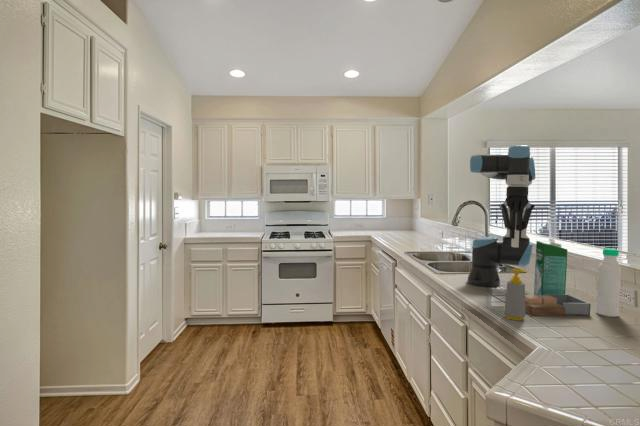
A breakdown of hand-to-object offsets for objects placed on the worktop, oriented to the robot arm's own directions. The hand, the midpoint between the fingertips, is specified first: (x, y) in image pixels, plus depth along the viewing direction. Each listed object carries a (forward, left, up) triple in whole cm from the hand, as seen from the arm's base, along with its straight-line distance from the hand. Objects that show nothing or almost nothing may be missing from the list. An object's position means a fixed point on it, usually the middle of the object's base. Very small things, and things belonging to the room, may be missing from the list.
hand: (514, 246), depth 151 cm
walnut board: (0, +10, -25) cm, 27 cm away
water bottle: (+5, +34, -25) cm, 42 cm away
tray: (0, +21, -25) cm, 32 cm away
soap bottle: (+11, -4, -25) cm, 27 cm away
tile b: (0, +13, -22) cm, 25 cm away
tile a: (0, +8, -22) cm, 23 cm away
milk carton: (-14, +23, -25) cm, 36 cm away
